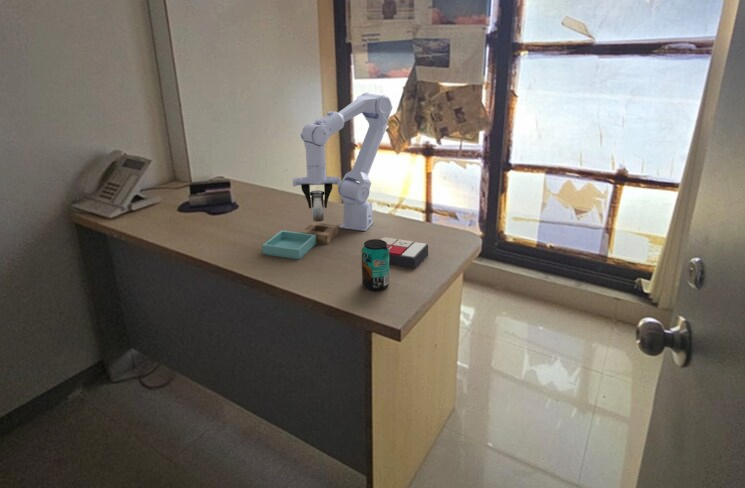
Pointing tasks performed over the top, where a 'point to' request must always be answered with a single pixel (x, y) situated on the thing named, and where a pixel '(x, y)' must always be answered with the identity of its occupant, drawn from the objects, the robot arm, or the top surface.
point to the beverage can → (375, 265)
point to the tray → (289, 244)
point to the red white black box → (406, 252)
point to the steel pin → (317, 205)
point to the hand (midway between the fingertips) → (317, 207)
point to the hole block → (322, 232)
